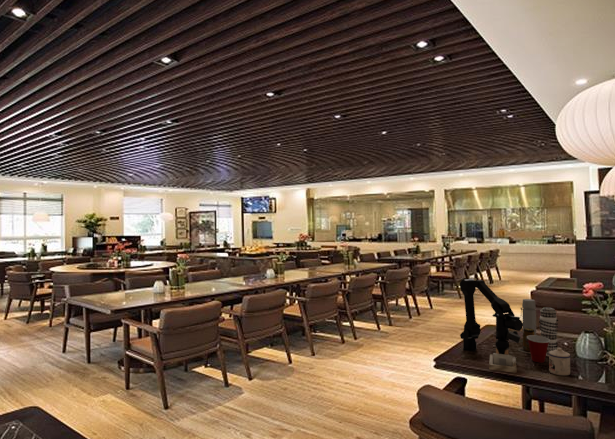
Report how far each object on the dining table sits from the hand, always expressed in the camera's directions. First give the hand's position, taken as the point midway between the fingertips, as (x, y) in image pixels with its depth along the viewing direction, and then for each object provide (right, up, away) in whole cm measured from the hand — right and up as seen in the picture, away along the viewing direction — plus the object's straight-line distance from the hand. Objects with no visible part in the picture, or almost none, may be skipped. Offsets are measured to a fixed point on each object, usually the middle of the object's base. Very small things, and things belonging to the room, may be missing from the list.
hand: (502, 356), depth 225 cm
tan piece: (-3, -2, -7) cm, 8 cm away
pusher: (-3, -2, -7) cm, 8 cm away
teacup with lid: (+19, -2, -19) cm, 27 cm away
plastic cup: (+18, -2, -1) cm, 19 cm away
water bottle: (+32, -3, +36) cm, 48 cm away
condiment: (+22, -2, +17) cm, 28 cm away
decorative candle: (+30, -2, +11) cm, 32 cm away
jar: (0, -1, 0) cm, 1 cm away
